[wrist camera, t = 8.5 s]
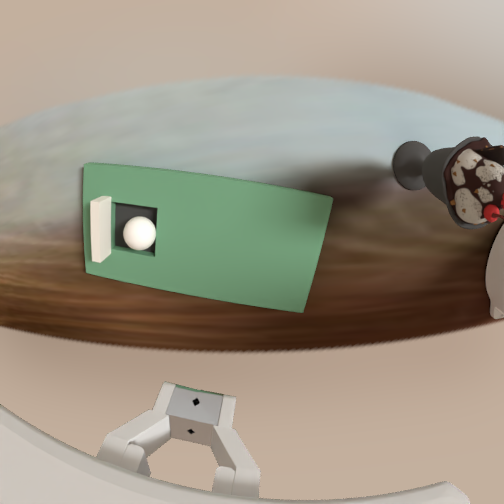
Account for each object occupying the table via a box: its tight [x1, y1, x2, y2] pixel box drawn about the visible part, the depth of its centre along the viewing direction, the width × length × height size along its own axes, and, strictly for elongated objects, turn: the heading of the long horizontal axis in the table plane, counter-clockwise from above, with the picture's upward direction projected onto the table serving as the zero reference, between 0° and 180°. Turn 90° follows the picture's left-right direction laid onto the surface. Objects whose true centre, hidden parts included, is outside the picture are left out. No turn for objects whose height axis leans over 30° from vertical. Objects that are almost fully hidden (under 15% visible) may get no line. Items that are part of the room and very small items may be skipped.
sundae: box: [394, 137, 504, 229], centre depth 18 cm, size 7×7×15 cm
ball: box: [123, 216, 156, 250], centre depth 26 cm, size 3×3×3 cm
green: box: [83, 163, 333, 313], centre depth 26 cm, size 24×12×4 cm, turn 80°
